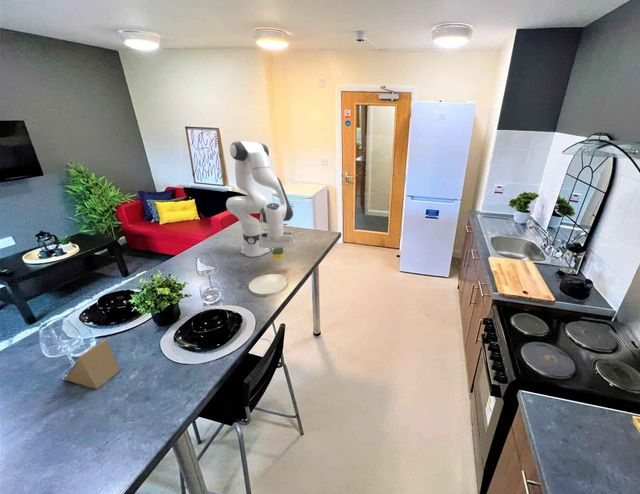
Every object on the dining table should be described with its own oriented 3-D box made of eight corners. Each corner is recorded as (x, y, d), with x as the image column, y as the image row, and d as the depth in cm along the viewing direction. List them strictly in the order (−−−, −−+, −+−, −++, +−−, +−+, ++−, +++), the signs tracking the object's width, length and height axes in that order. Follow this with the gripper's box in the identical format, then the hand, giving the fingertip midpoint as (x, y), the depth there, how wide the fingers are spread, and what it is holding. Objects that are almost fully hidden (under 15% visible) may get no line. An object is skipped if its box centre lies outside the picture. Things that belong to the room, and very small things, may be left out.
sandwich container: (89, 360, 109) (74, 330, 103) (121, 369, 106) (107, 338, 100) (63, 379, 102) (44, 347, 95) (96, 389, 98) (79, 356, 92)
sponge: (275, 253, 174) (274, 246, 172) (284, 253, 175) (283, 246, 173) (273, 259, 167) (272, 252, 165) (282, 259, 167) (281, 252, 166)
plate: (253, 277, 167) (253, 274, 166) (289, 275, 169) (288, 273, 169) (245, 297, 149) (244, 294, 148) (284, 295, 151) (284, 292, 151)
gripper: (295, 229, 169) (296, 250, 174) (258, 230, 166) (261, 252, 172) (294, 233, 163) (295, 255, 169) (256, 234, 160) (259, 256, 166)
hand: (278, 253), depth 170 cm, fingers closed on sponge, 5 cm apart
